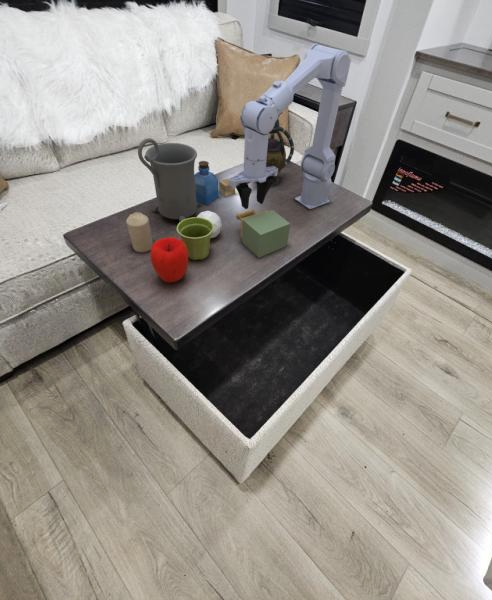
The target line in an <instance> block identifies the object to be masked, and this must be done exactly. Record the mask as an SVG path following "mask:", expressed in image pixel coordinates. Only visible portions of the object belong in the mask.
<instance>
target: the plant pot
mask: <svg viewBox="0 0 492 600" xmlns="http://www.w3.org/2000/svg"><path fill="white" fill-rule="evenodd" d="M213 230H214V226H213V224H212V222H210V221H209V220H207V219H205V218H200V217H197V216H194V217H193V216H191V217H188V218H185V219H184V220H182V221H181V222H180V221H179V223H177V226H176V232H177V234H178V235H179V236H180V238H181V241H183V242H184V243H185V245H186V248H187V251H188V259H190V260H192V261H198V260H204V259H206V258H207V257H208V256H209V254H210V246H211V239H212V238H211V234H212V232H213Z"/></svg>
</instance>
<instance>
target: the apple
mask: <svg viewBox="0 0 492 600" xmlns="http://www.w3.org/2000/svg"><path fill="white" fill-rule="evenodd" d="M149 255H150V262H151V265H152V267H153V269H154V271H155V272H156V274H157V275H158V276H159V278H160V279H161V280H162V281H163V282H166V283H175V282H178V281H180V280H181V279H182V278H183V277H184V276H185V274H186V271H187V269H188V265H189V257H188V251H187V248H186V245H185V243H184V242H183V241H182V239H180V238H177V237H172V236H171V237H164V238H161V239H158V240H156V241H153V245H152V248H151V250H150V253H149Z"/></svg>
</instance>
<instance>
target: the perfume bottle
mask: <svg viewBox="0 0 492 600" xmlns="http://www.w3.org/2000/svg"><path fill="white" fill-rule="evenodd" d="M209 164H210V163H209V162H208V161H207V160H200V161H198V167H197V169H198V171H197V172H196V173H194V175H195V190H196V202H198V203H201V204H203V205H206V206H208V205H209V204H211V203H212V202H214V201H216V200H217V199H218V198H219V180H218V178H217V177H216V174H214V173H213V172H211V171H210V166H209Z"/></svg>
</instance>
